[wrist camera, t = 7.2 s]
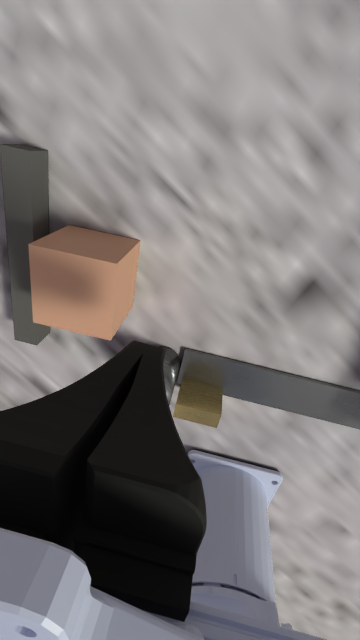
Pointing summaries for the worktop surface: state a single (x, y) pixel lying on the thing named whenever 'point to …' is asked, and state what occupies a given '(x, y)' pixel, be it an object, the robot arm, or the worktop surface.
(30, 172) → the kerb
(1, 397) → the worktop surface
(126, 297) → the block
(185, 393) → the frame
